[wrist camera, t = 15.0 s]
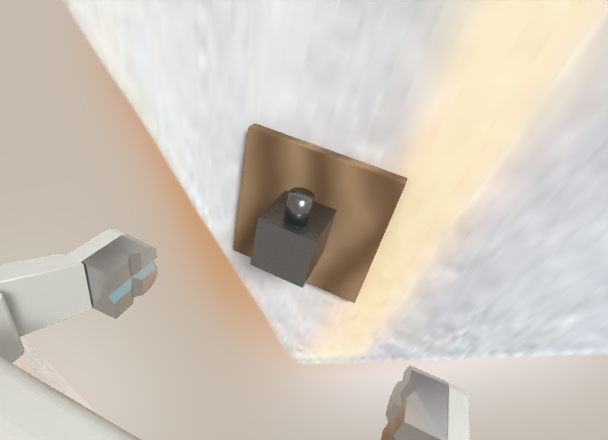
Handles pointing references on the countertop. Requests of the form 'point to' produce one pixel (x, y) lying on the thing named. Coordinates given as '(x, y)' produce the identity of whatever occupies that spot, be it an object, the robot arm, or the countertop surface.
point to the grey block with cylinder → (292, 236)
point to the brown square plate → (328, 191)
